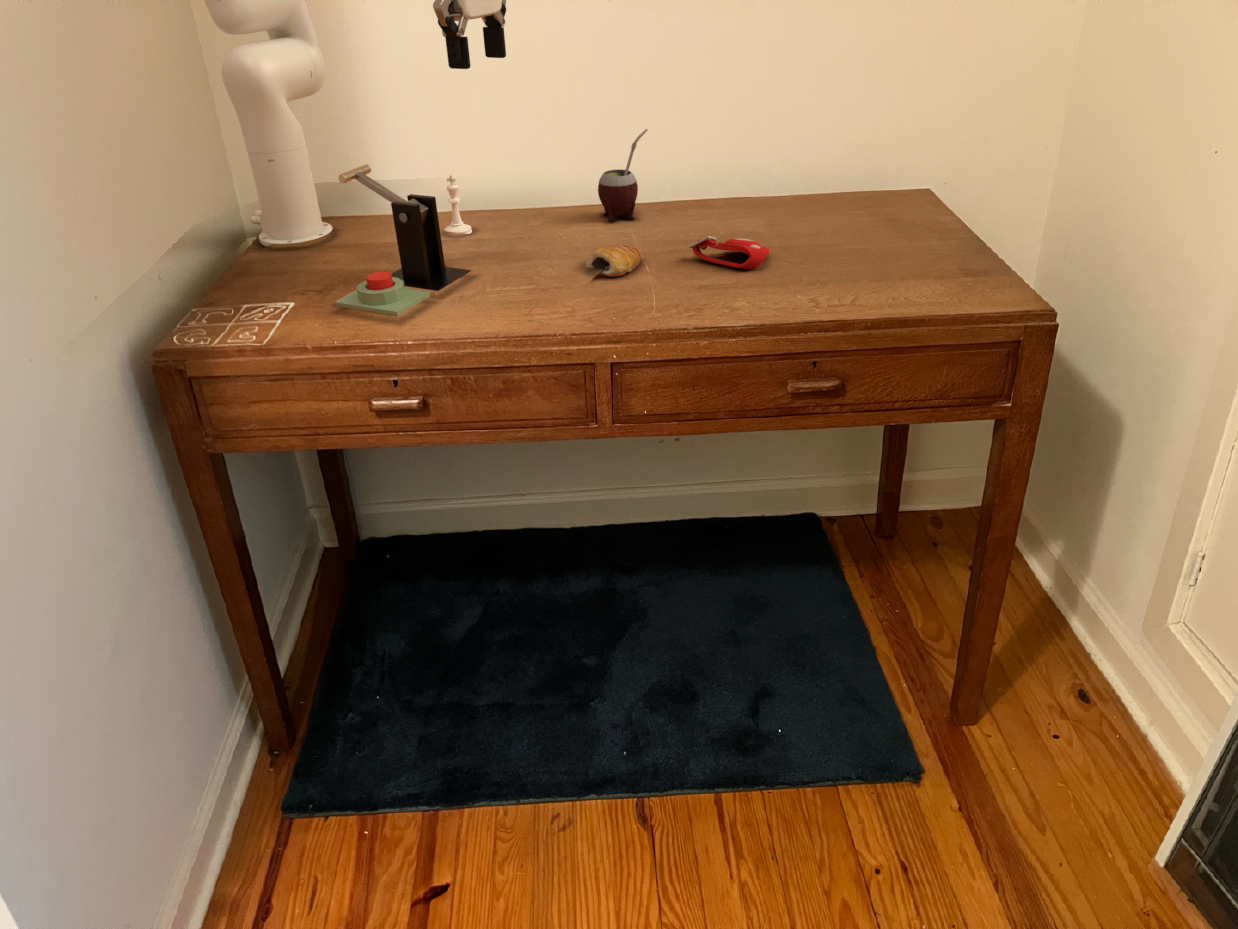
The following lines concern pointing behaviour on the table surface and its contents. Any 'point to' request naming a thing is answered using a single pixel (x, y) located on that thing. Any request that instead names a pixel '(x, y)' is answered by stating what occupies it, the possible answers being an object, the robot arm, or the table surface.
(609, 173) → the mate gourd
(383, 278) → the button
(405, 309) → the button box
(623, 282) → the table surface
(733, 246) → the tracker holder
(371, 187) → the lever
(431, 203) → the bracket
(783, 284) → the table surface
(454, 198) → the chess piece
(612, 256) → the pastry
